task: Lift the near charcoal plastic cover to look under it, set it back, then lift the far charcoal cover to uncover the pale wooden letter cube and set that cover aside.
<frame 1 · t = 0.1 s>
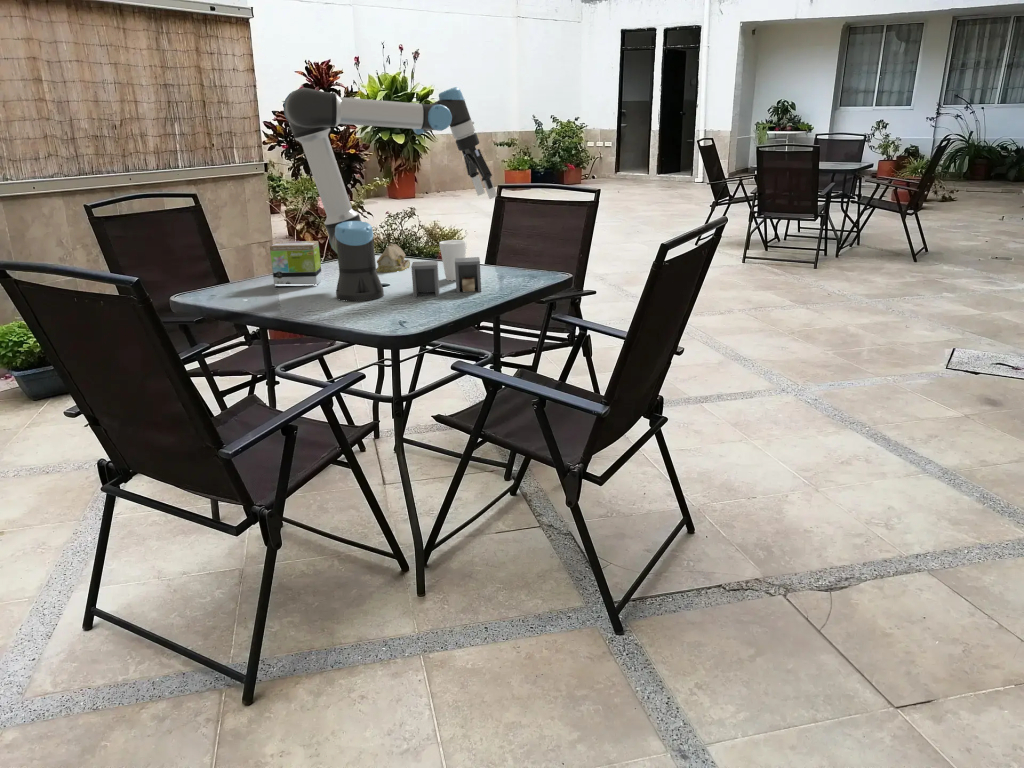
hand: (487, 196, 270), 28 cm above the table, tool tilted 20°, fingers open, 13 cm apart
foam cup: (454, 279, 275), on the table
letter cube: (468, 290, 257), on the table
near cover: (426, 294, 253), on the table
ceramic model: (393, 270, 298), on the table
tea box: (299, 285, 275), on the table
far cover: (468, 289, 257), on the table
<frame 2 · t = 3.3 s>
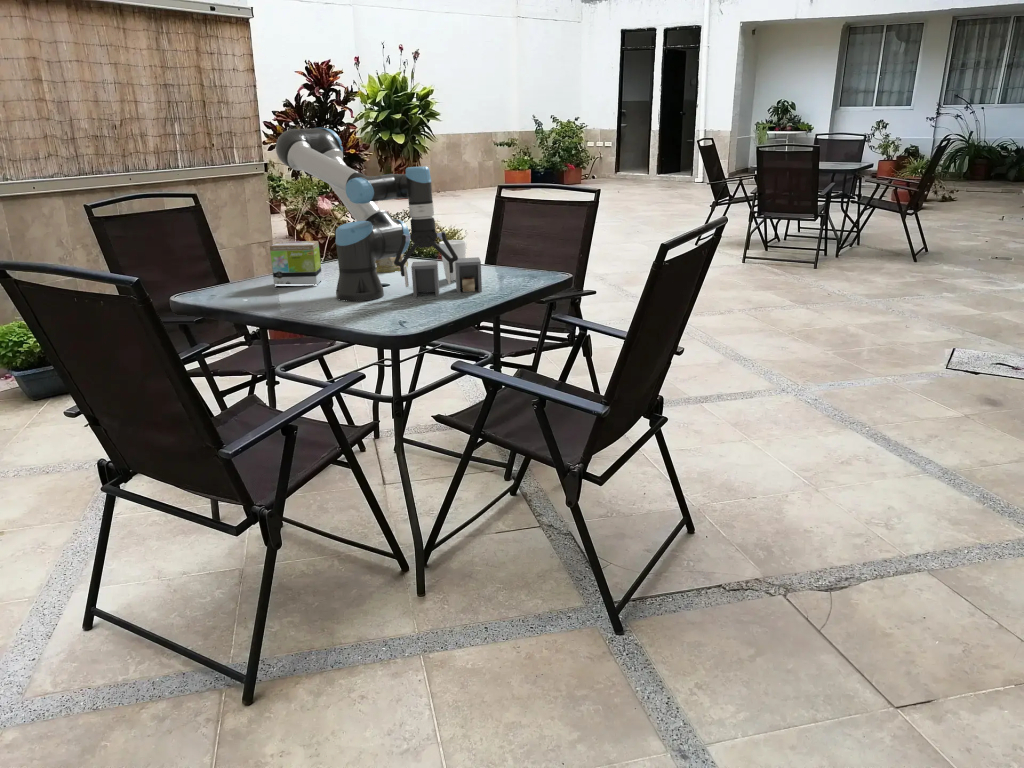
hand: (428, 284, 251), 3 cm above the table, tool pointing down, fingers open, 13 cm apart
far cover: (468, 290, 257), on the table, touching gripper
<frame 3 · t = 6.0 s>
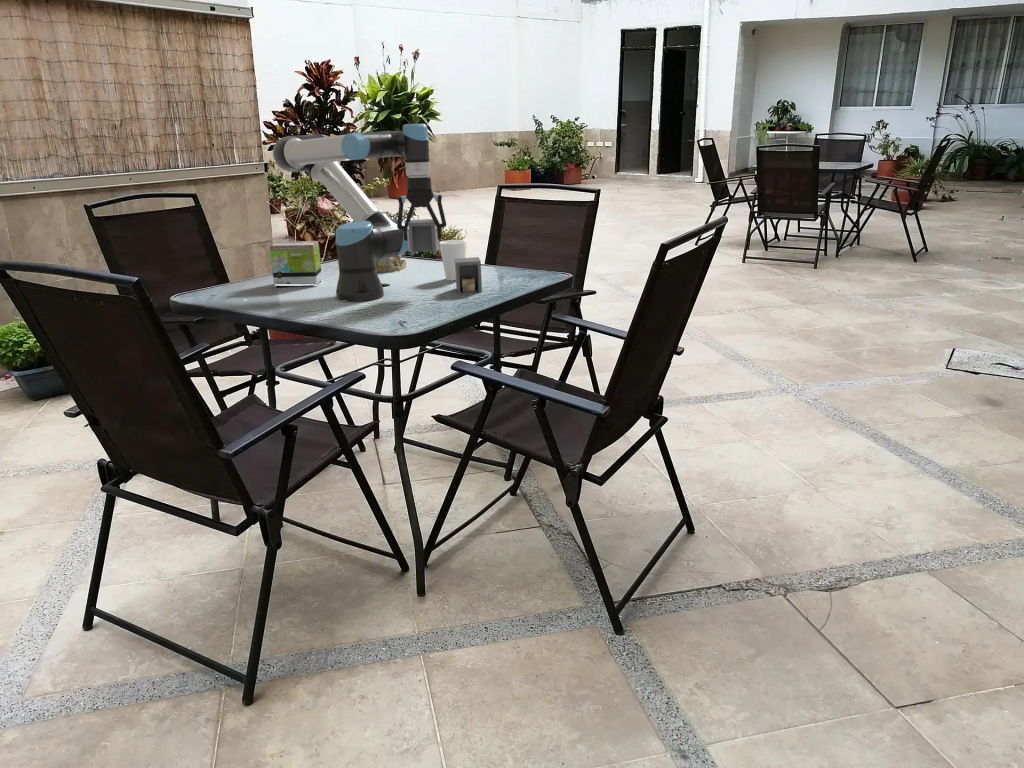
hand: (423, 250, 248), 14 cm above the table, tool pointing down, fingers closed on near cover, 8 cm apart
near cover: (423, 252, 248), point 13 cm above the table, touching gripper
far cover: (468, 290, 257), on the table
when the fingers open (2 cm above the table, at t = 8.5 s): near cover drops 1 cm, on the table.
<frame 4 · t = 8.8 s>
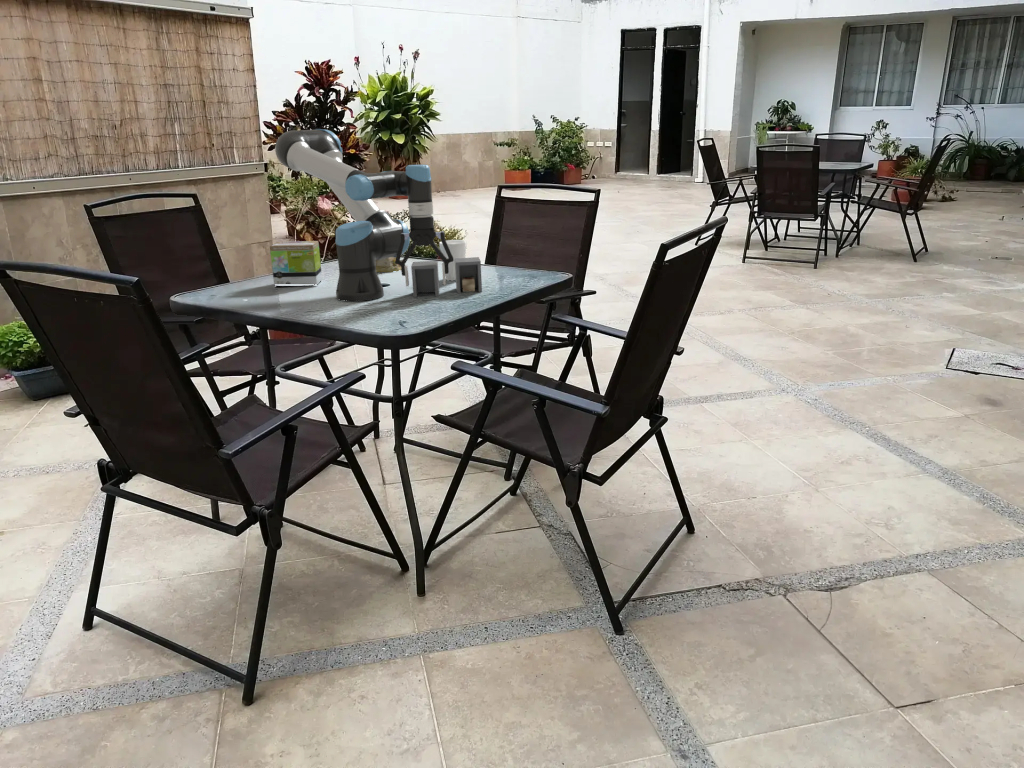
hand: (426, 284, 252), 3 cm above the table, tool pointing down, fingers open, 11 cm apart
near cover: (426, 294, 253), on the table
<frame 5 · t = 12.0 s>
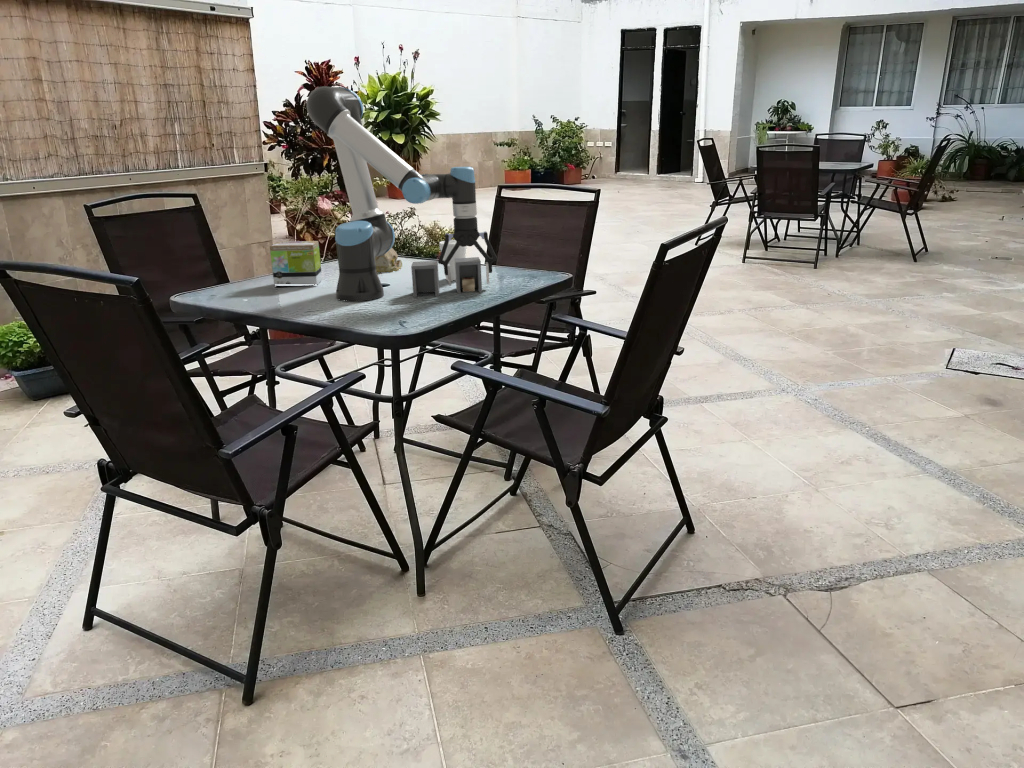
hand: (469, 283, 256), 2 cm above the table, tool pointing down, fingers open, 12 cm apart
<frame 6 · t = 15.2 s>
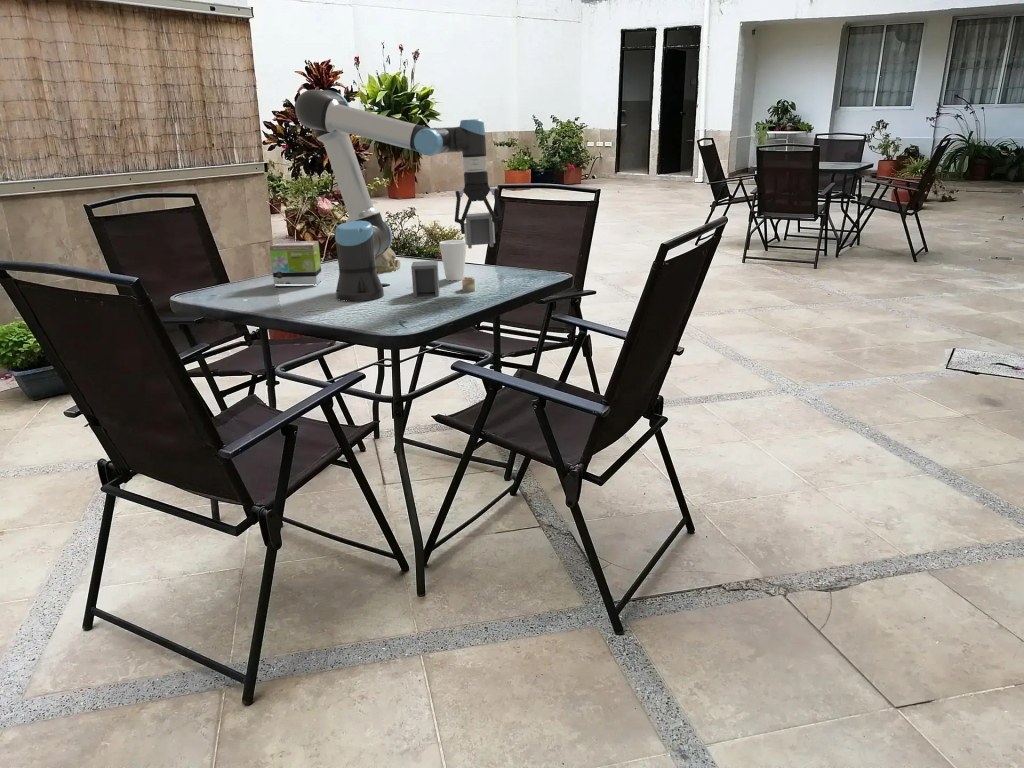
hand: (480, 243, 253), 15 cm above the table, tool pointing down, fingers closed on far cover, 8 cm apart
far cover: (480, 245, 253), point 14 cm above the table, touching gripper
when the fingers open (2 cm above the table, at t = 18.0 s): far cover drops 1 cm, on the table.
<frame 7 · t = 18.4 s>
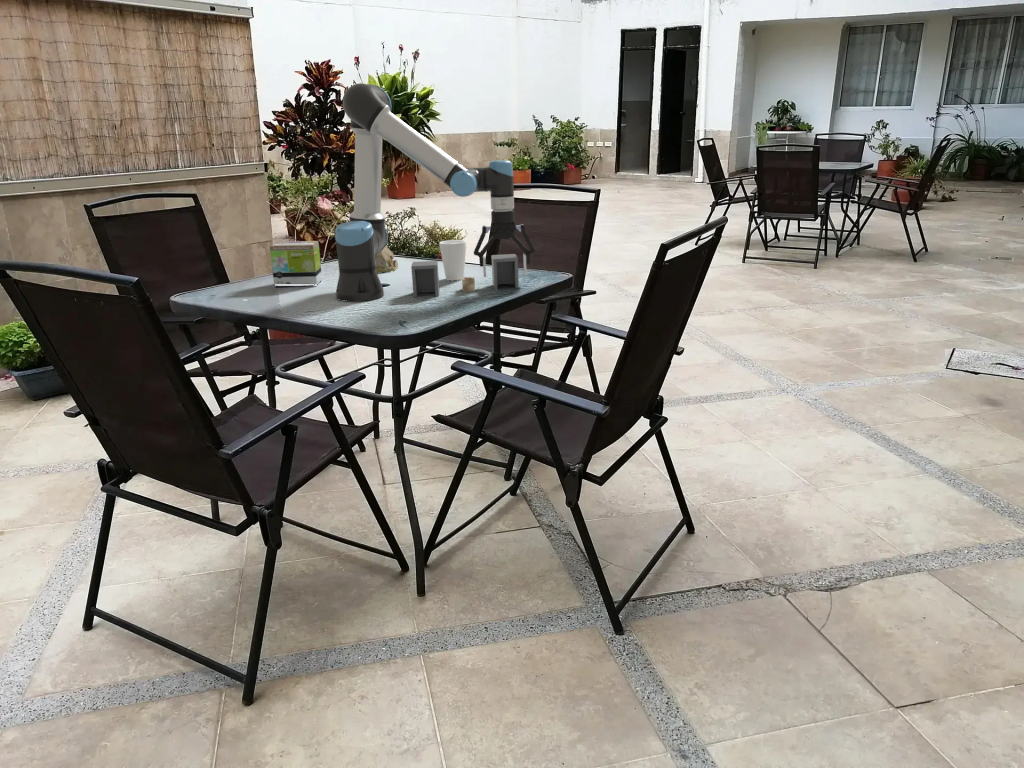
hand: (505, 275, 259), 4 cm above the table, tool pointing down, fingers open, 13 cm apart
far cover: (505, 286, 260), on the table
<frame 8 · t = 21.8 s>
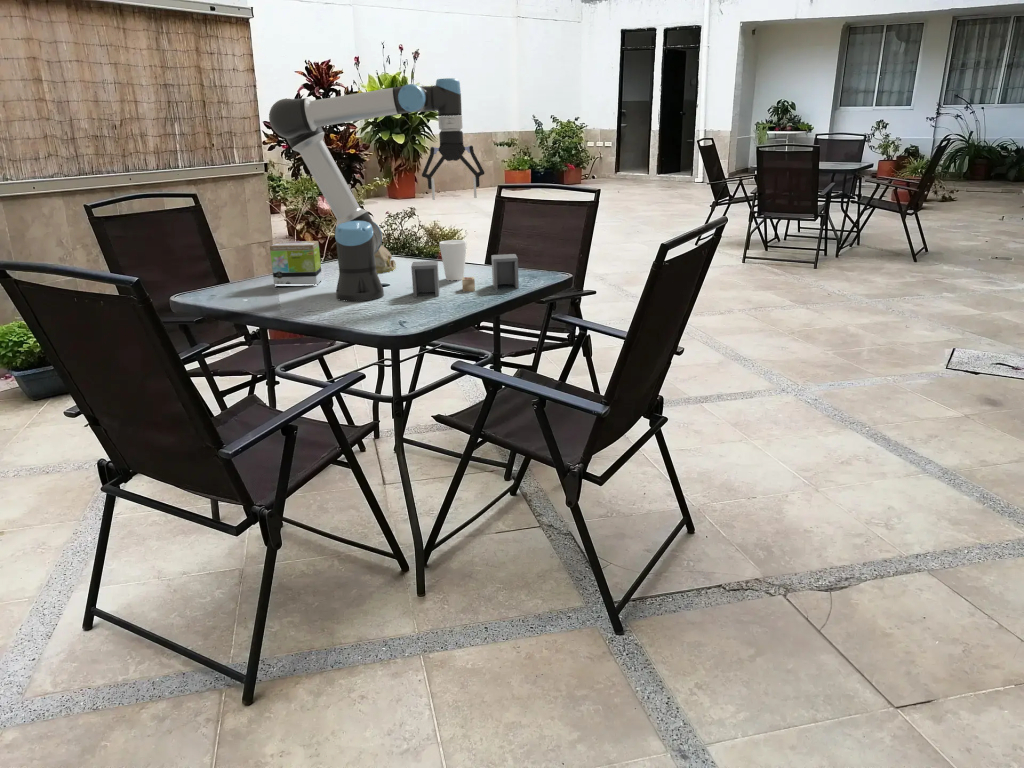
hand: (454, 198, 256), 29 cm above the table, tool pointing down, fingers open, 13 cm apart
at the end: letter cube moved 0.1 cm from its start; far cover inside the target area (0.4 cm from its centre), on the table; near cover moved 0.1 cm from its start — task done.
